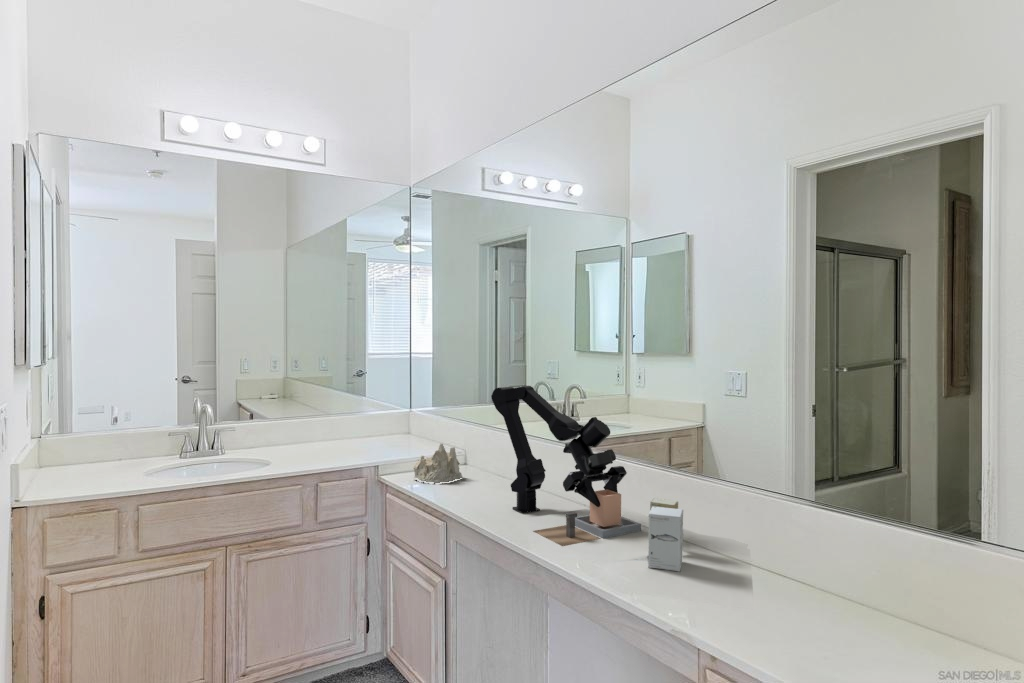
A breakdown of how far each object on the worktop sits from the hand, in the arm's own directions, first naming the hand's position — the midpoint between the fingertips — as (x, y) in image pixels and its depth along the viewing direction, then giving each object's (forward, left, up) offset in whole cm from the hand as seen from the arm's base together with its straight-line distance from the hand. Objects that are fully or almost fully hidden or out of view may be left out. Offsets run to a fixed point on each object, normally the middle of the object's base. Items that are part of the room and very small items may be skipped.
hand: (608, 504), depth 166 cm
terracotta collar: (-1, 0, -5) cm, 5 cm away
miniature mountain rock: (-84, -14, -8) cm, 86 cm away
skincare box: (+17, +4, -8) cm, 19 cm away
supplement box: (+25, -3, -8) cm, 26 cm away
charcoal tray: (-1, 0, -8) cm, 8 cm away
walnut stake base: (-1, -13, -8) cm, 15 cm away
